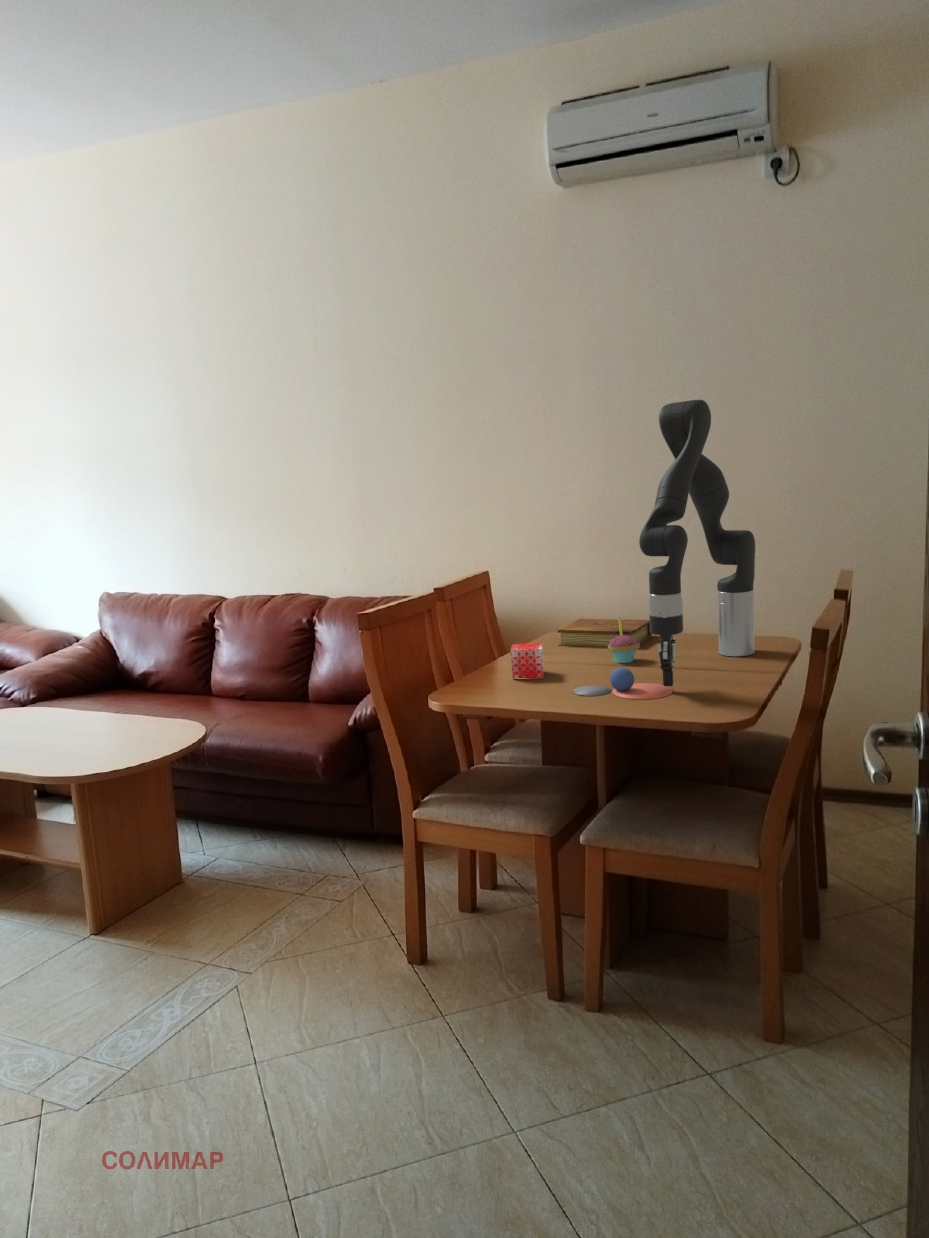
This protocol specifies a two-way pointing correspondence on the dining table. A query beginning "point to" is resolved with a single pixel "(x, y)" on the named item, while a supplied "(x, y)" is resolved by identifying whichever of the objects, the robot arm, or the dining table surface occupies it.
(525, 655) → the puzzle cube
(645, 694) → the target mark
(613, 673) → the ball
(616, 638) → the cupcake
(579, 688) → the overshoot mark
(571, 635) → the diary
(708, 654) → the dining table surface
